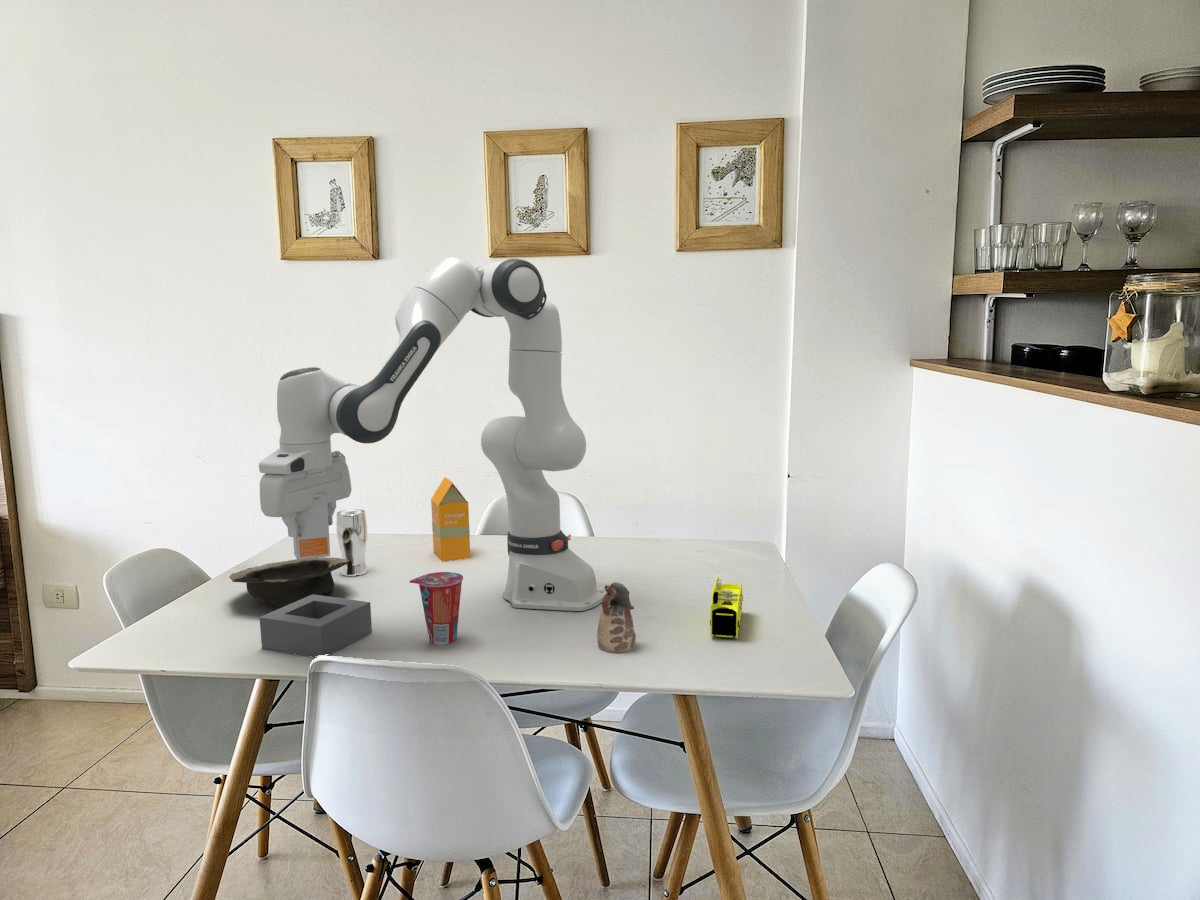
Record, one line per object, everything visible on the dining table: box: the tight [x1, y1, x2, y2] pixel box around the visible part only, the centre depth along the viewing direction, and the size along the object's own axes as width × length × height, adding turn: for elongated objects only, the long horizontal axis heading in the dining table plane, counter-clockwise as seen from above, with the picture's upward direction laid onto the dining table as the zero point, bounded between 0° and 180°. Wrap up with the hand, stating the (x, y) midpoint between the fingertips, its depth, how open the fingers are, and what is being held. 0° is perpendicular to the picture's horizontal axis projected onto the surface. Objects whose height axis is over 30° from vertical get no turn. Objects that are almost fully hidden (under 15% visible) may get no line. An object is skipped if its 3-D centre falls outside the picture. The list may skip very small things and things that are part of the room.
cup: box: [409, 571, 464, 646], centre depth 155 cm, size 9×8×12 cm
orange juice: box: [430, 476, 471, 562], centre depth 212 cm, size 8×9×20 cm
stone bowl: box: [228, 557, 352, 611], centre depth 182 cm, size 25×25×9 cm
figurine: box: [596, 581, 637, 654], centre depth 151 cm, size 7×7×12 cm
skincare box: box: [292, 492, 331, 560], centre depth 154 cm, size 6×4×12 cm
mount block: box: [259, 594, 373, 658], centre depth 157 cm, size 14×14×6 cm
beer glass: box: [336, 508, 368, 577], centre depth 199 cm, size 7×7×15 cm
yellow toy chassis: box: [709, 574, 744, 639], centre depth 161 cm, size 16×6×8 cm, turn 167°
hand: (311, 530), depth 154 cm, fingers closed on skincare box, 7 cm apart
